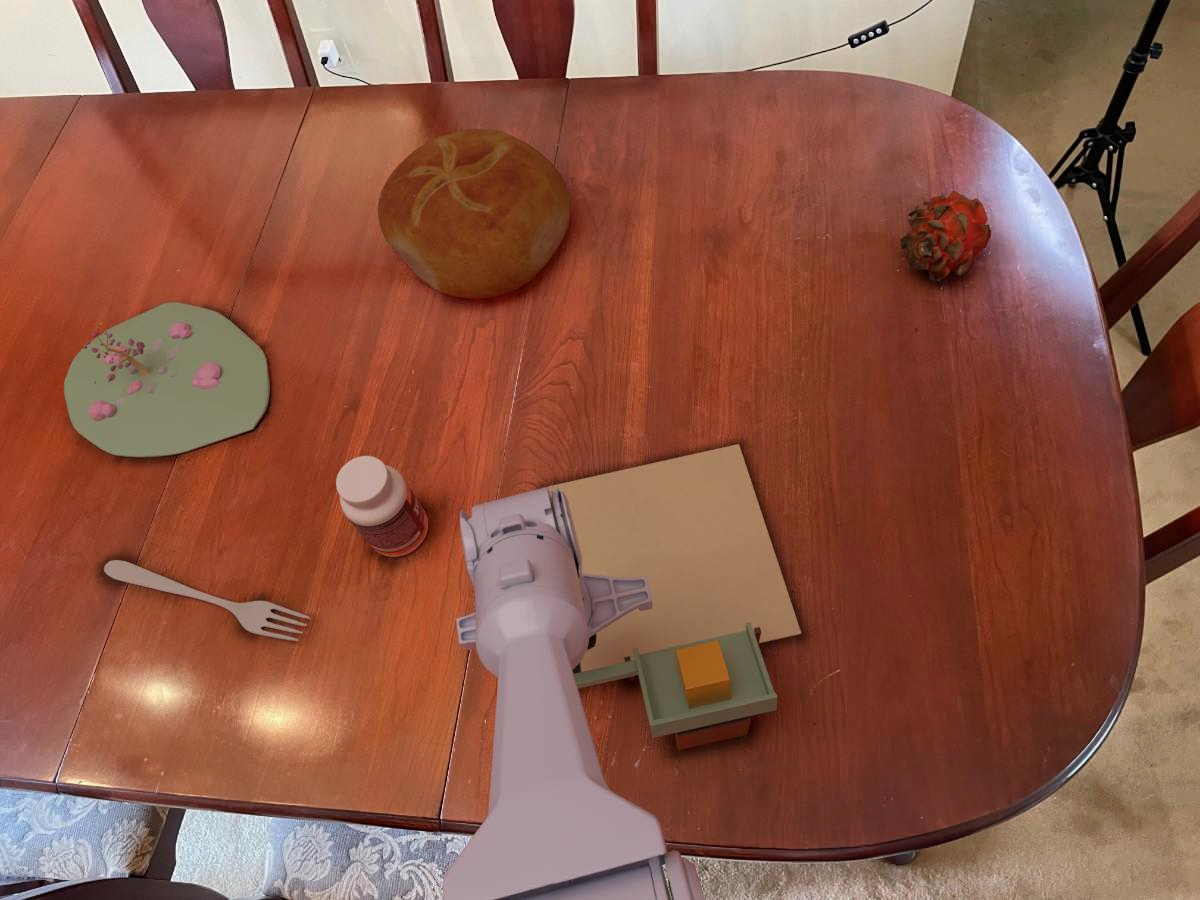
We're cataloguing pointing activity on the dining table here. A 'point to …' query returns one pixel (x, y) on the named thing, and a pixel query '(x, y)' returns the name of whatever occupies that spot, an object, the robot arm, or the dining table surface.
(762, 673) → the tray
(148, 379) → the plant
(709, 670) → the block
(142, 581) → the fork
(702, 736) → the stand
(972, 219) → the dragon fruit
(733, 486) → the mat
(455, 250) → the bread
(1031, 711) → the dining table surface
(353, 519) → the pill bottle
